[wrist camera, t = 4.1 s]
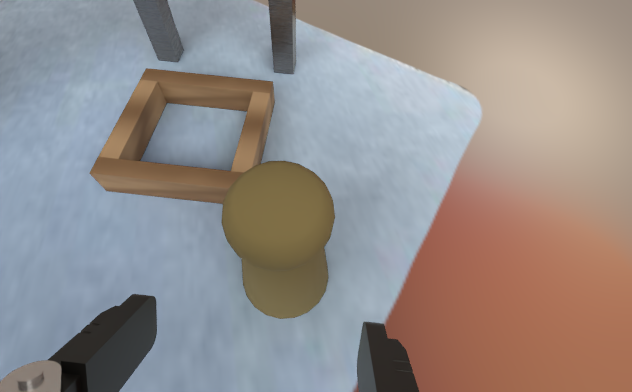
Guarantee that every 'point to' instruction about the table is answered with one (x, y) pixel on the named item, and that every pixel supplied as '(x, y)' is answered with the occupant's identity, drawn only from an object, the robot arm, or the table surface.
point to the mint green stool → (170, 47)
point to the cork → (280, 236)
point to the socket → (143, 115)
